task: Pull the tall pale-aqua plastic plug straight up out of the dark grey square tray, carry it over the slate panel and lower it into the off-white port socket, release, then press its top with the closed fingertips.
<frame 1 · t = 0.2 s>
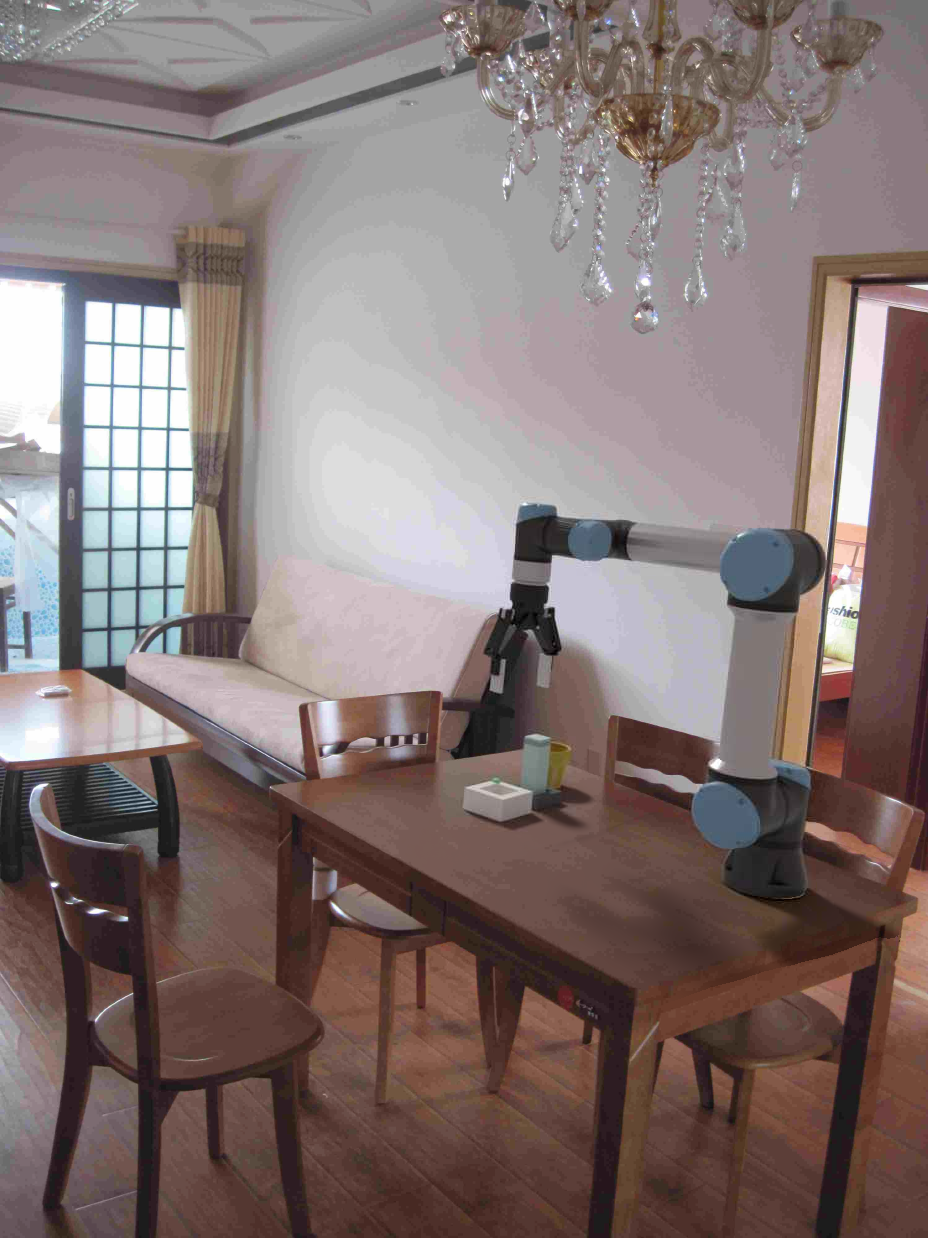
hand: (519, 689, 227), 28 cm above the table, fingers open, 13 cm apart
panel: (514, 809, 241), on the table
port: (496, 813, 237), resting on panel
dark grey square tray: (531, 803, 246), resting on panel
plant pot: (544, 789, 260), on the table
plug: (531, 800, 246), point 1 cm above the table, touching dark grey square tray
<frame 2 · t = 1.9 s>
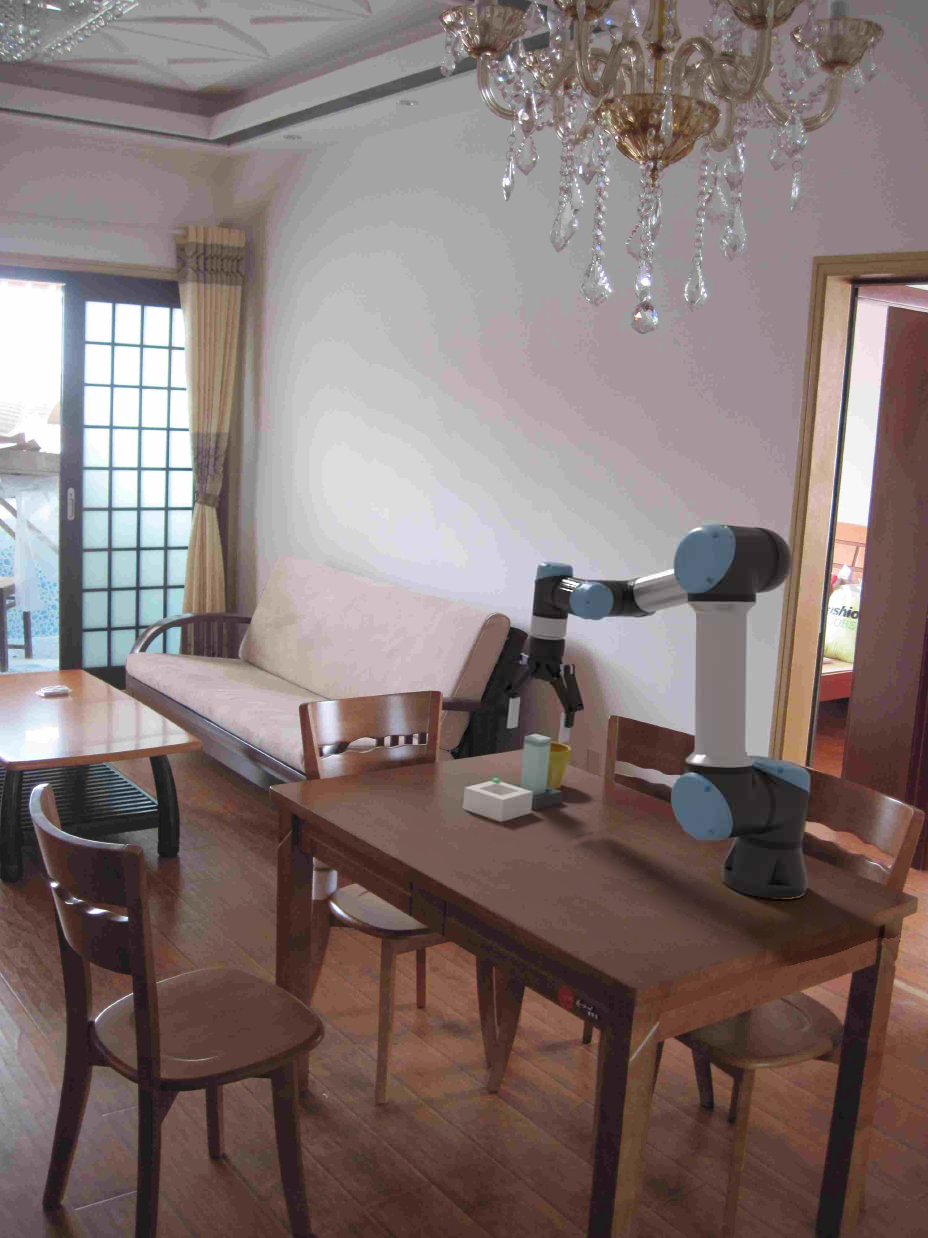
hand: (537, 734, 244), 15 cm above the table, fingers open, 13 cm apart
nothing on the table moved.
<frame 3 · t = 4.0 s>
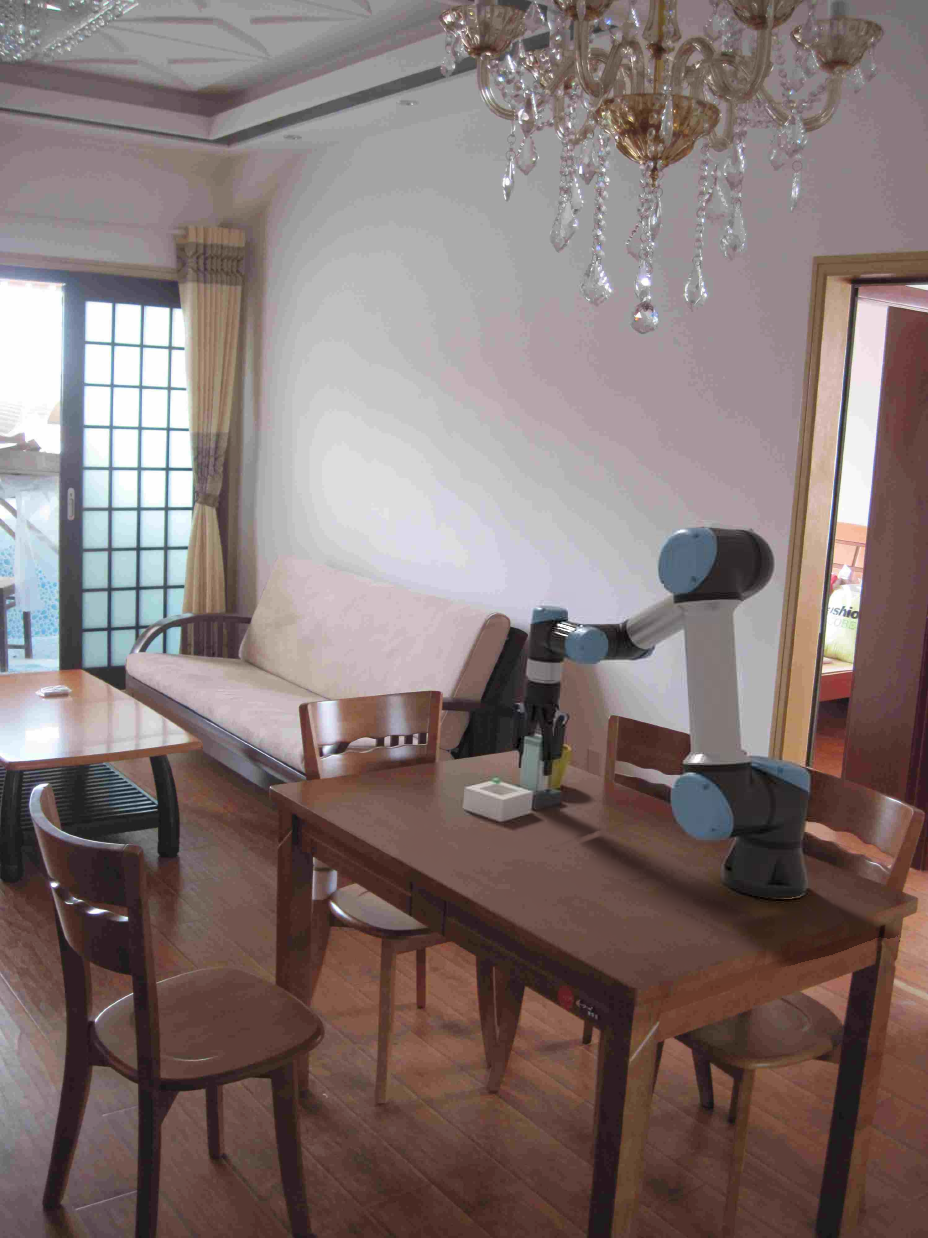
hand: (533, 786, 245), 4 cm above the table, fingers closed on plug, 4 cm apart
plug: (531, 800, 246), point 1 cm above the table, touching gripper, dark grey square tray
everything else where it was.
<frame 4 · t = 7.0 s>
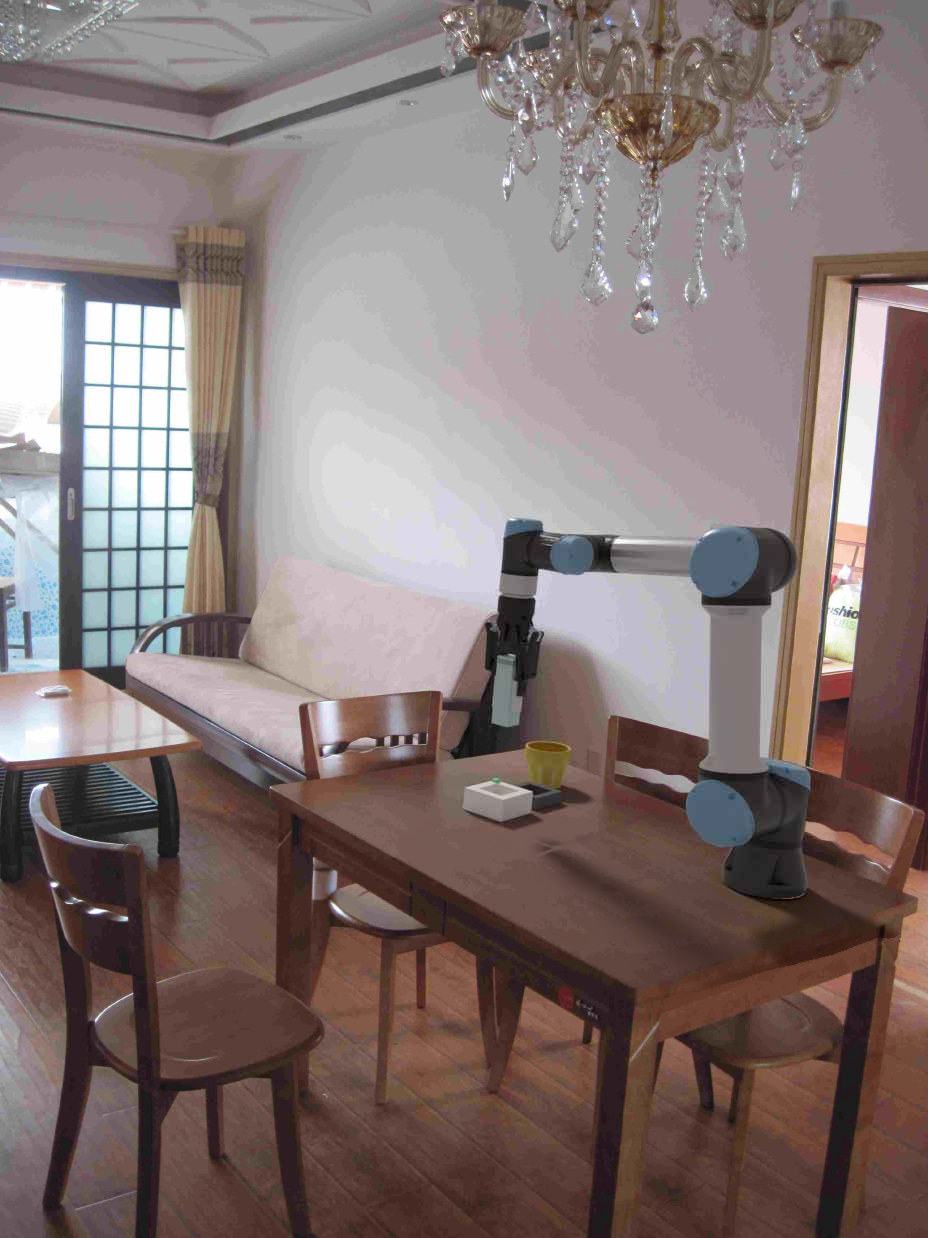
hand: (506, 708, 234), 22 cm above the table, fingers closed on plug, 4 cm apart
plug: (505, 723, 234), point 19 cm above the table, touching gripper
everything else where it was.
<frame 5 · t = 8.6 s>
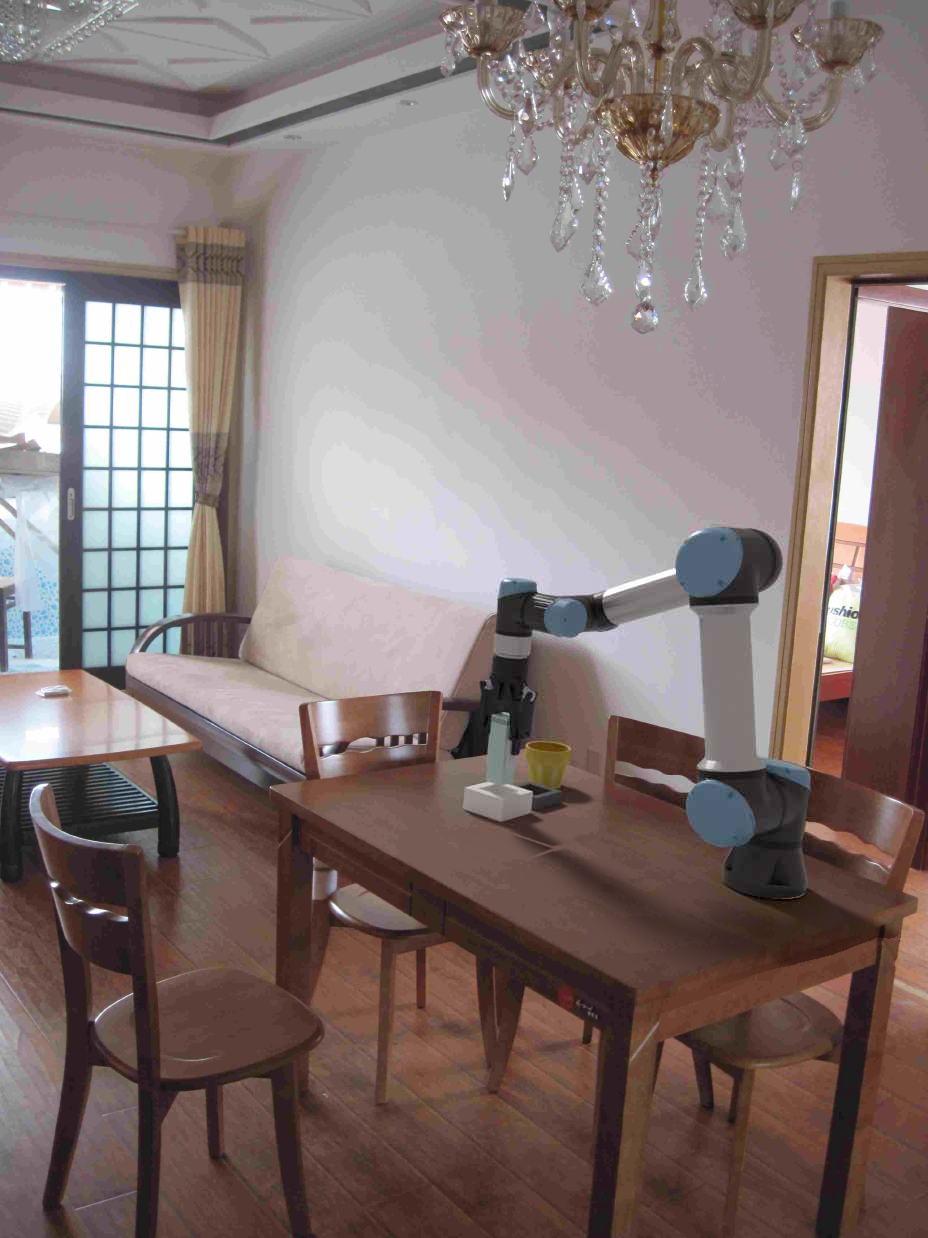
hand: (500, 767, 235), 10 cm above the table, fingers closed on plug, 4 cm apart
plug: (499, 781, 236), point 7 cm above the table, touching gripper
everything else where it was.
when the fingers open (6 cm above the table, at t = 10.1 s): plug drops 1 cm, resting on port.
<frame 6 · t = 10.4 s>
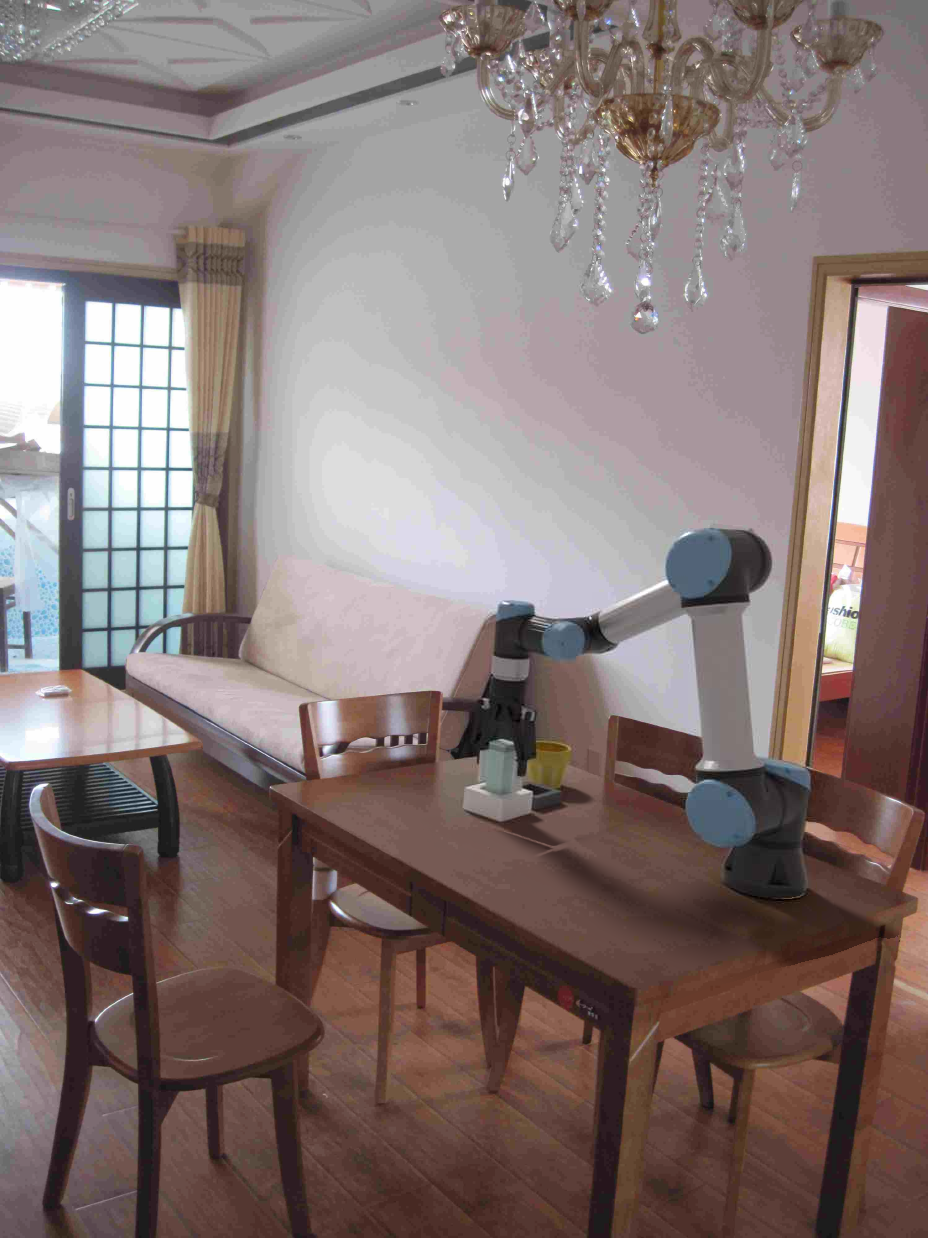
hand: (499, 785, 236), 6 cm above the table, fingers open, 8 cm apart
plug: (497, 808, 237), point 1 cm above the table, touching port
everything else where it was.
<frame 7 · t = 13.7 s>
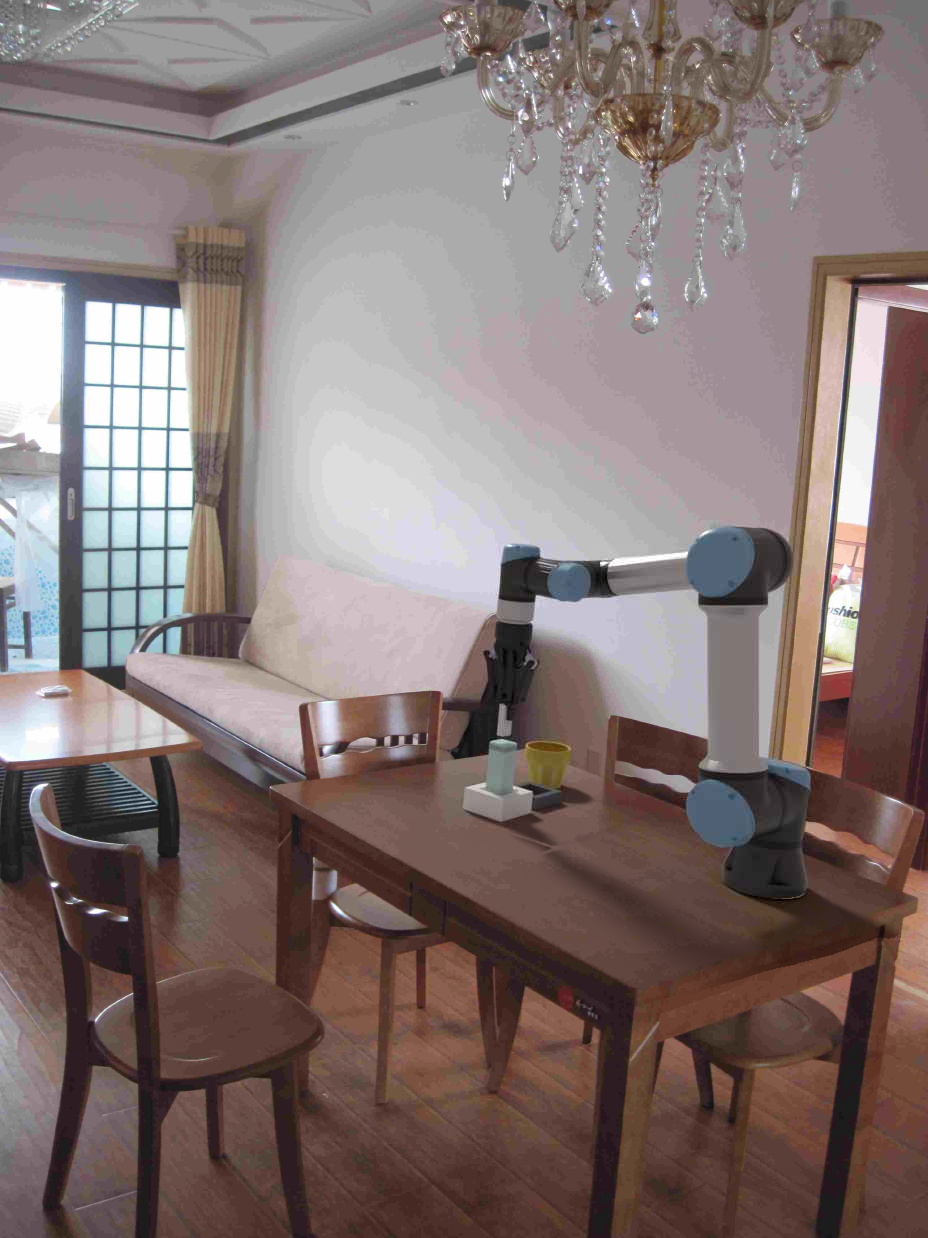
hand: (503, 734, 235), 17 cm above the table, fingers closed
nothing on the table moved.
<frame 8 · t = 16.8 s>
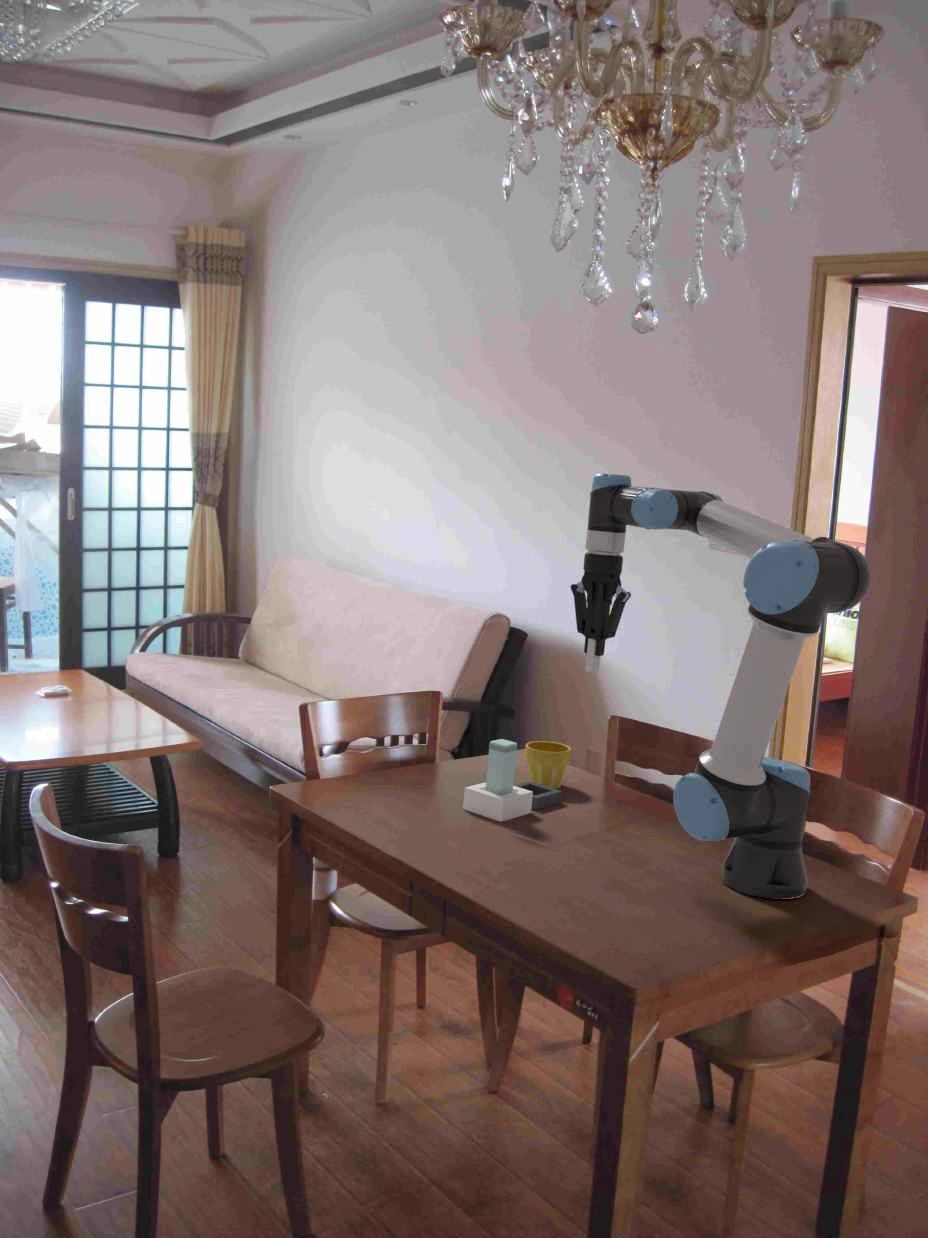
hand: (592, 671, 228), 32 cm above the table, fingers closed
nothing on the table moved.
at the end: plug 0.0 cm off-centre on the port, point 1.0 cm above the port's base; plug tilted 0°; the gripper is holding nothing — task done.
